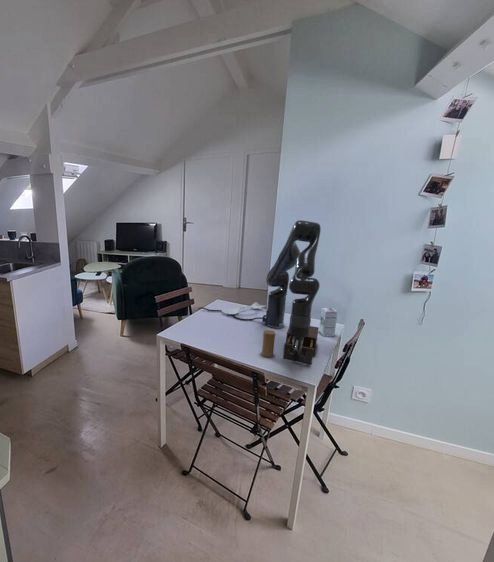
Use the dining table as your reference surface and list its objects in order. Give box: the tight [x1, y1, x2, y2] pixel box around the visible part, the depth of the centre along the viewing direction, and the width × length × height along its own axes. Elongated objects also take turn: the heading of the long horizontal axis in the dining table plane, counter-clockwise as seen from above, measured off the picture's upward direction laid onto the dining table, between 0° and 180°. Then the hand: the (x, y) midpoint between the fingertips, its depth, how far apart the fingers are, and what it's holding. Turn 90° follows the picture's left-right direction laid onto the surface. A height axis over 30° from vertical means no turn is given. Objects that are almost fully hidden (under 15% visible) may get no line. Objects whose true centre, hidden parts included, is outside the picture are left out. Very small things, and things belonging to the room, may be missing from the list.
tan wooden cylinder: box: [261, 329, 276, 358], centre depth 151 cm, size 5×5×12 cm
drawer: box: [282, 335, 314, 366], centre depth 146 cm, size 18×11×8 cm, turn 145°
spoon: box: [221, 301, 267, 316], centre depth 210 cm, size 9×32×4 cm, turn 110°
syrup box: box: [318, 307, 338, 337], centre depth 170 cm, size 6×6×14 cm
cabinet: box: [285, 325, 320, 357], centre depth 157 cm, size 15×13×10 cm
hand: (295, 360), depth 135 cm, fingers closed
